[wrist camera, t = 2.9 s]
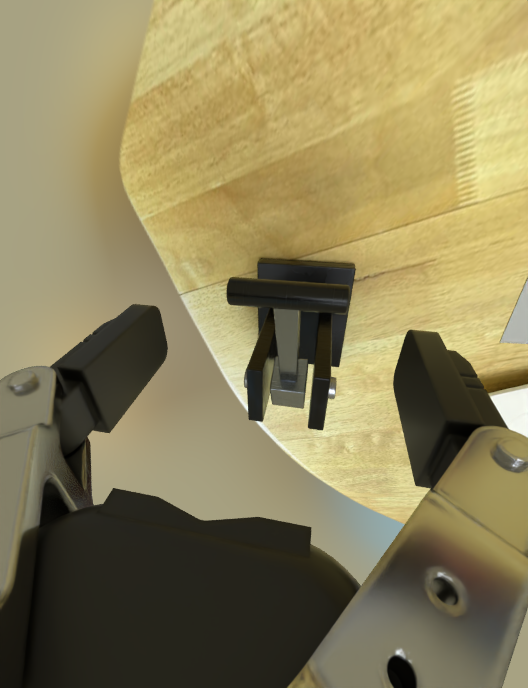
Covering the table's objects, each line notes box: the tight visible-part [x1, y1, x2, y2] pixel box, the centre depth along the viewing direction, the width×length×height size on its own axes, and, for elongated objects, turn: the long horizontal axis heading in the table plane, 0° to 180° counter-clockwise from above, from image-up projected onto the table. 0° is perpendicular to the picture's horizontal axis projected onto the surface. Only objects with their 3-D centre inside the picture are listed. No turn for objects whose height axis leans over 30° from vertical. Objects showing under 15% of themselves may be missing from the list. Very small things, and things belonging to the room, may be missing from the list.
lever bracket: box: [244, 258, 356, 430], centre depth 24 cm, size 10×8×12 cm
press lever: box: [227, 277, 350, 409], centre depth 17 cm, size 11×5×2 cm, turn 0°
